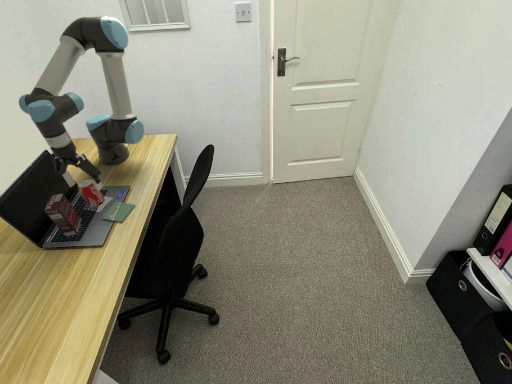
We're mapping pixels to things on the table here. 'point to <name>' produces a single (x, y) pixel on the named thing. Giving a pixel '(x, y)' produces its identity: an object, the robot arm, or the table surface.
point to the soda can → (90, 193)
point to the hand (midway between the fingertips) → (86, 186)
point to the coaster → (119, 211)
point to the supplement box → (63, 214)
